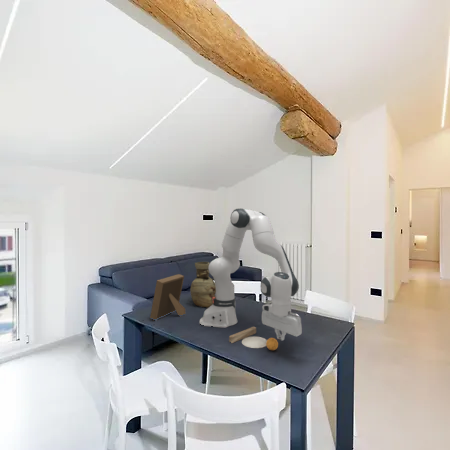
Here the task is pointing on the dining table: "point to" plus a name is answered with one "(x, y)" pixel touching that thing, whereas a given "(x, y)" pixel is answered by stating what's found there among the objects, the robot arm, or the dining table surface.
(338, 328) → the dining table surface
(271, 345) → the ball
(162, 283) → the photo frame
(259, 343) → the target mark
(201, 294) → the ceramic vessel
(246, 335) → the bar
